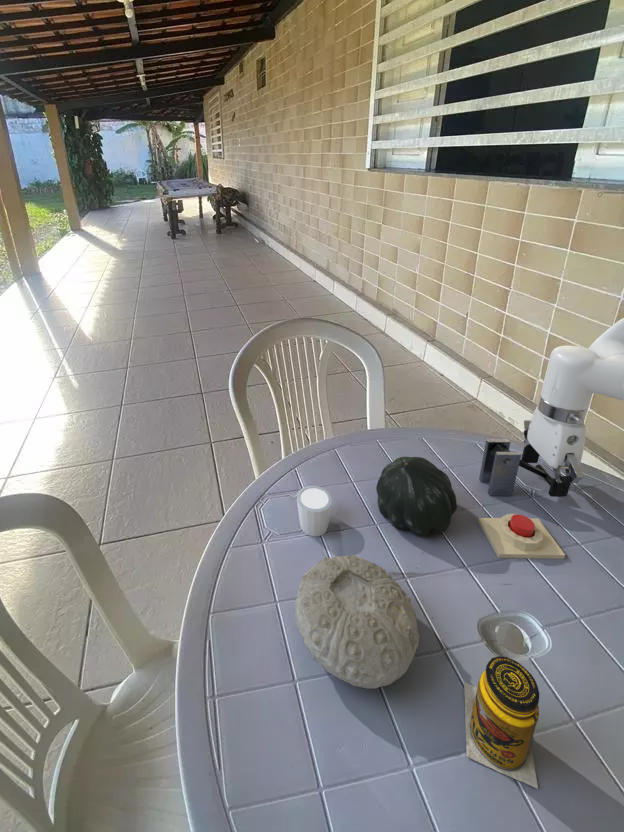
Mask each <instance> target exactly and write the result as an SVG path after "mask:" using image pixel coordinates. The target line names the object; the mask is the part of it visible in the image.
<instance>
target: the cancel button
mask: <svg viewBox="0 0 624 832" xmlns="http://www.w3.org/2000/svg"><path fill="white" fill-rule="evenodd" d="M515 514H516V515H513V516H512V517H511V521H510V529H511V530H512V531H513V532H514V533H515V534H517V535H519V536H521V537H526V538H528V537H531V536H532V535H533V532H534V528H535V525H534V523H533V521H532V520H530V519H529V518H530V517H528V516H526V515H523V514H518V513H515Z"/></svg>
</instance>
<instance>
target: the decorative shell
mask: <svg viewBox="0 0 624 832" xmlns="http://www.w3.org/2000/svg"><path fill="white" fill-rule="evenodd" d="M411 599H412V598H411V597H410V596H408V595H407V593H406V592H405V590H404V589H403V588H402V587H401V585H400V584H399V582H397V581H396V580H395V579H394V578H393V577H392V576H391V575H390V574H389V573H388V572H387V571H386V569H385V568H383V567H382V566H379V565H378V564H376V563H375V562H371V561H369V560H367V559H364V558H362V557H358V556H357V555H356V554H352V555H343V556H342V555H338V556H335V557H334V556H331V557H326V556H324V557H323V558H322V560H320V561H317V562H316V564H314V565H313V566H312V567H311V568H309V570H308V571H307V572H305V574H304V575H303V576H302V577H301V581H300V583H299V586H298V589H297V596H296V599H295V603H294V613H295V619H294V622H295V626H296V628H297V630H298V632H299V634H300V635H301V637H302V639H303V643H304V645H305V646H306V648H307V650H308V652H309V655H310V656H311V657H312V660H313V661H314V662H316V663H318V665H320V666H321V667H322V668H323V669H324V670H325V671H326V672H327V673H329V674H330V675H332V676H334V677H336V678H338V679H340V680H342V681H343V682H345V683H347V684H350V685H351V686H353V687H357V688H364V689H367V690H369V689H373V690H374V689H378V688H381V687H386V686H389V685H392V684H393V683H394V682H396V681H397V680H399V679H400V678H401V677H403V676H404V675H405V673H406V672H407V671H408V670H409V667H410V665H411V664H412V662H413V660H414V658H415V655H416V651H417V649H418V647H419V643H420V634H419V630H418V624H417V616H416V611H415V608H414V606H413V603H412V602H411Z"/></svg>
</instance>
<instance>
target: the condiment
mask: <svg viewBox="0 0 624 832" xmlns="http://www.w3.org/2000/svg"><path fill="white" fill-rule="evenodd" d="M463 687H464V688H463V689H464V720H465V721H464V722H465V724H464V725H465V743H466V744H465V749H466V750H465V753H466V757H467V758H469V759H471V760H473V761H475V762H477V763H479V764H482V765H483V766H485V767H487V768H490V769H492V770H494V771H496V772H497V773H501V774H503V775H505V776H507V777H510V778H511V779H514V780H516V781H518V782H522V783H524V784H526V785H527V786H530V787H532V788H534V789H536V790H539V786H538V780H537V778H538V777H537V772H536V764H535V759H534V751H533V744H532V739H533V737H534V733H535V730H536V727H537V724H538V721H539V717H540V708H539V703H540V690H539V686H538V683H537V681H536V679H535V677H534V676H533V674H532V673H530V671H529V670H527V668H525V666H523V665H522V664H521V663H519V662H518V661H517V660H515V659H512V658H510V657H508V656H501V655H498V656H495V657H492V658H490V660H489V661H487V664H486V667H485V670H484V671H482V673H481V674H480V677H479V680H478V683H477V686H474V685H472V684H470V683H467V682H463Z"/></svg>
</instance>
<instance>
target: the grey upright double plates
mask: <svg viewBox="0 0 624 832" xmlns="http://www.w3.org/2000/svg"><path fill="white" fill-rule="evenodd" d="M497 444H499V445H501V446H503V447H505V448H507V449H509V450H510V448H511V447H510V446H511V441H510V440H509V439H508V438H505V439H504V438H492V439H491V438H490V439H489V438H486V439H485V445H484V450H483V454H482V455H483V456H482V460H481V465H480V466H481V467H480V472H479V477H478V480H479V482H480V483H489V485H488V489H487V494H488V495H489V497H513V494H514V489H515V485H516V479H517V477H518V476H517V475H518V471H519V467H520V466H519V463H520V460H521V458H522V453H520V452H519V451H510V452H496V453H495V458H494V457H493V455H492V454H491V453H490V451H491V450H492V449H493V448H494V447H495V446H496V445H497Z"/></svg>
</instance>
